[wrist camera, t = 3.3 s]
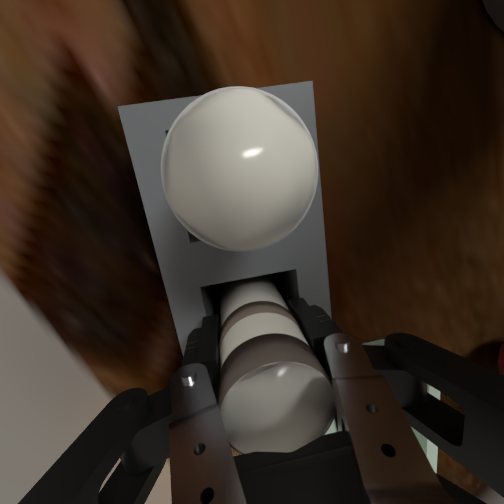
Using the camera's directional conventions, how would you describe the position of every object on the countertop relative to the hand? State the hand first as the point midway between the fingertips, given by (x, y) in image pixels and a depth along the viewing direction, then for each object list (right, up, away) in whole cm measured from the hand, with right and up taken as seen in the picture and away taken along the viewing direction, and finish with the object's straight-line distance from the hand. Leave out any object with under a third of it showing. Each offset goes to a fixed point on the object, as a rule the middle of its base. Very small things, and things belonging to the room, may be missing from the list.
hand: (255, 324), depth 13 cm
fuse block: (-1, +4, +3) cm, 5 cm away
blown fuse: (0, +1, +4) cm, 4 cm away
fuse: (-1, +8, +2) cm, 8 cm away
